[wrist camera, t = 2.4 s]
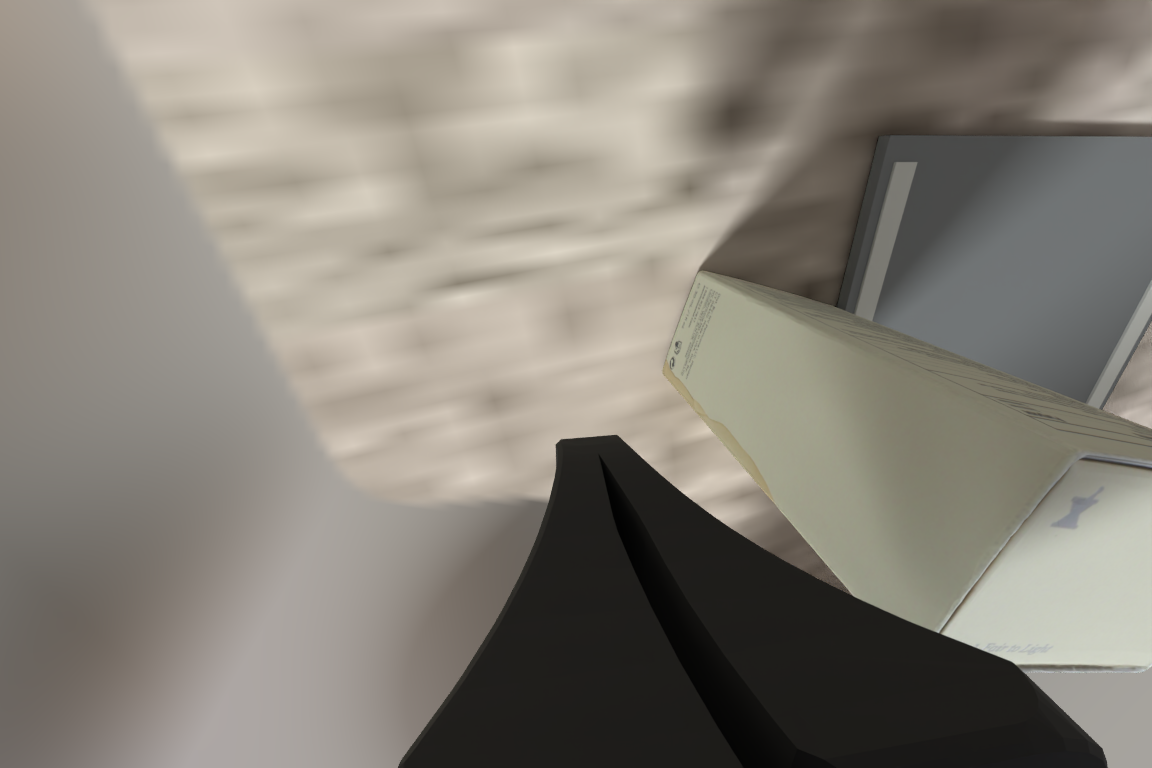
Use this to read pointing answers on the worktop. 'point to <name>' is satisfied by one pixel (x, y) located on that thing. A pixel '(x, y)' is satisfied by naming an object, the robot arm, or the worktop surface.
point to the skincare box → (931, 476)
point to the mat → (1011, 252)
